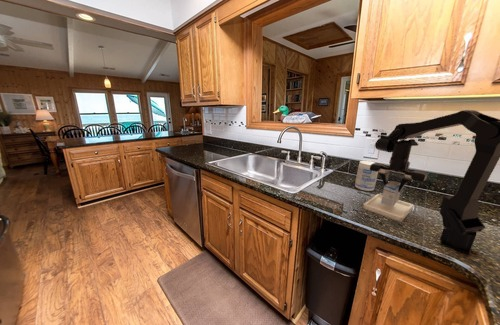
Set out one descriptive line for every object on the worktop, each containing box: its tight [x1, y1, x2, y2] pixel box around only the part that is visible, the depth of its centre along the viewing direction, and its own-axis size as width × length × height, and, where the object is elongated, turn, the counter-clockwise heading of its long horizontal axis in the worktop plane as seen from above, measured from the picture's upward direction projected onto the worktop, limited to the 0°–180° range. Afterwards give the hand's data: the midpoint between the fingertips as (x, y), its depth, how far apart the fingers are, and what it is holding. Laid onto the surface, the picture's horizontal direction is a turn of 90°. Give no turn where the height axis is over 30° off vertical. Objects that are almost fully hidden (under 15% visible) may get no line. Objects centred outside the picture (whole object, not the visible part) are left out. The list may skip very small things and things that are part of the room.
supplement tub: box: [354, 160, 379, 192], centre depth 106 cm, size 10×10×15 cm
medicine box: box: [381, 180, 401, 207], centre depth 83 cm, size 8×4×9 cm, turn 130°
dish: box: [362, 193, 414, 223], centre depth 85 cm, size 14×18×2 cm
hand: (392, 190), depth 83 cm, fingers closed on medicine box, 4 cm apart
